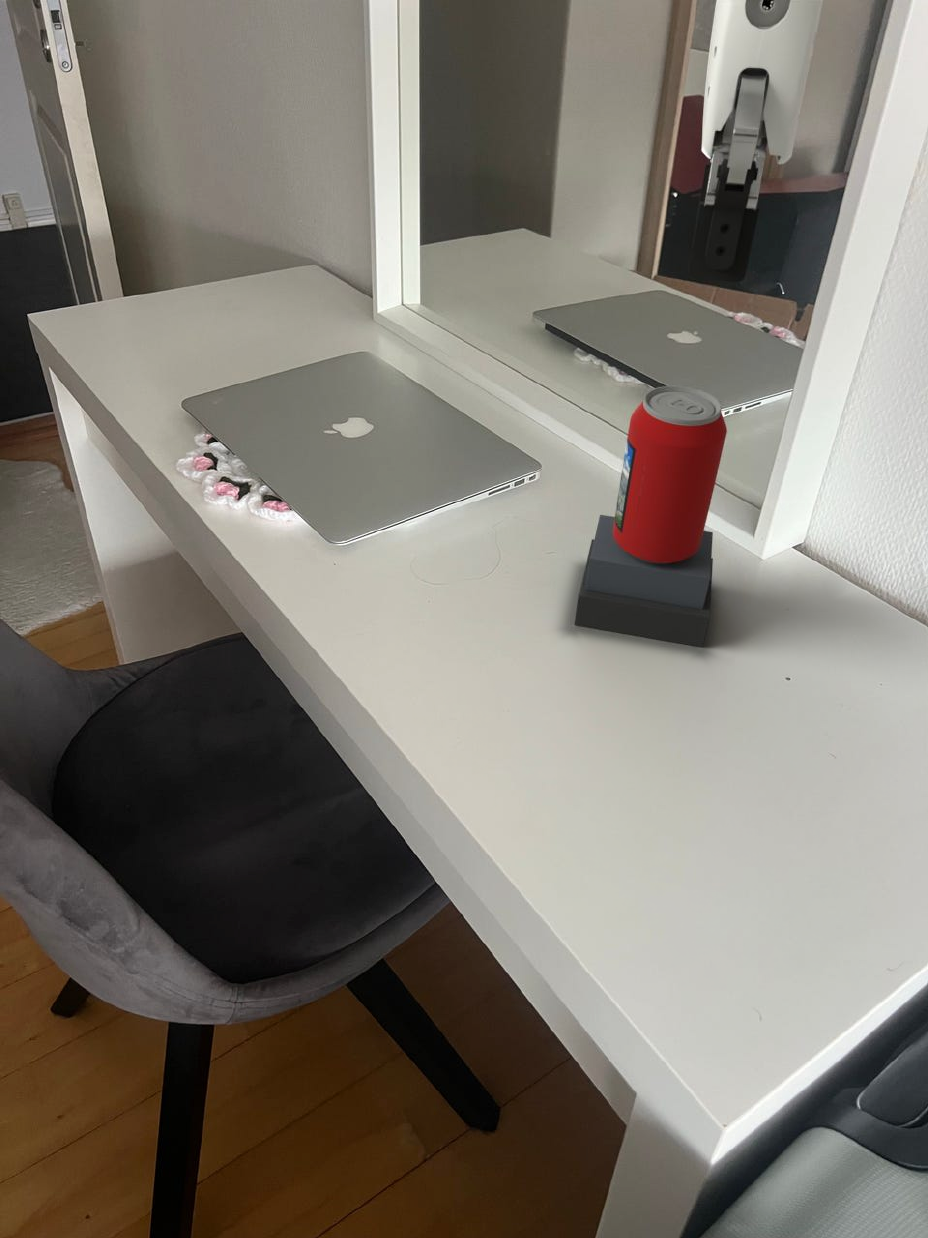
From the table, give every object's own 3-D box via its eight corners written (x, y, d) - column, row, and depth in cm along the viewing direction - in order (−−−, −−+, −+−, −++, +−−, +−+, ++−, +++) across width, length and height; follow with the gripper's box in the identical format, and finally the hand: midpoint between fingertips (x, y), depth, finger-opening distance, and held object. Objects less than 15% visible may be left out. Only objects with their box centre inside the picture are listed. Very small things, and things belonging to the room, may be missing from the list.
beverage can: (645, 511, 74) (671, 372, 67) (715, 547, 71) (751, 404, 63) (592, 543, 71) (613, 399, 63) (664, 582, 67) (695, 435, 59)
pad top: (705, 562, 74) (712, 531, 72) (702, 609, 69) (710, 578, 68) (595, 544, 76) (600, 514, 74) (585, 589, 71) (589, 558, 69)
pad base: (705, 587, 77) (713, 558, 75) (702, 647, 71) (710, 617, 69) (587, 567, 78) (591, 538, 76) (574, 625, 72) (578, 595, 70)
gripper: (882, -96, 39) (784, 307, 49) (847, -97, 52) (776, 221, 62) (701, -101, 40) (644, 293, 50) (712, -101, 53) (665, 211, 64)
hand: (717, 253), depth 56 cm, fingers open, 9 cm apart
